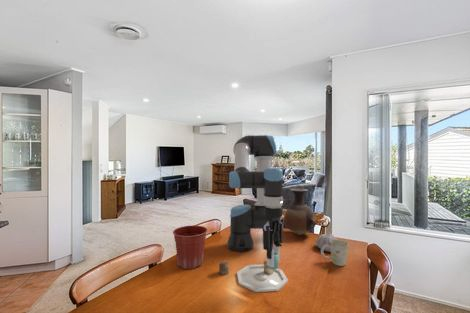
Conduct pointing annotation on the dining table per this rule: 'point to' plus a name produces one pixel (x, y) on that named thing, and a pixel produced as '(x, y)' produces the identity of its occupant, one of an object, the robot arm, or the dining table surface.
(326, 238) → the sea urchin shell
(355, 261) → the dining table surface
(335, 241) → the mug
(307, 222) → the vase
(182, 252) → the flower pot
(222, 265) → the walnut bead
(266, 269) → the beige wooden cylinder
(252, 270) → the groove tray
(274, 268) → the teal bead
